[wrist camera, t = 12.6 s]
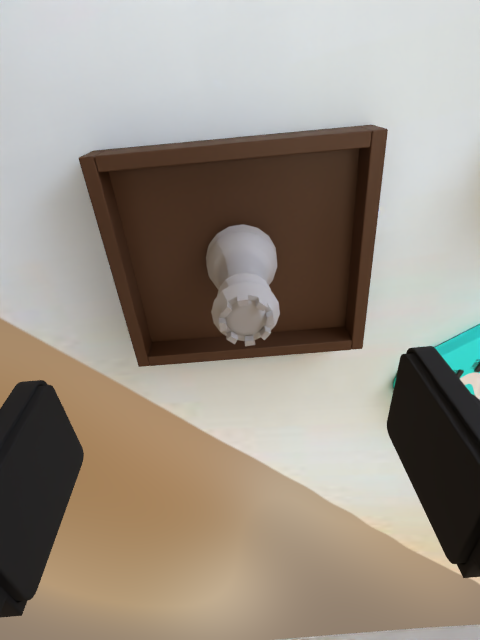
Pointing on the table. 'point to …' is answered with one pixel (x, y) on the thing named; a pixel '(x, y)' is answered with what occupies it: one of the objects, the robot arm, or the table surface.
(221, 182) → the tray
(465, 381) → the handheld game console
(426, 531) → the table surface
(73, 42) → the table surface
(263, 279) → the rook chess piece
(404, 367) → the robot arm
